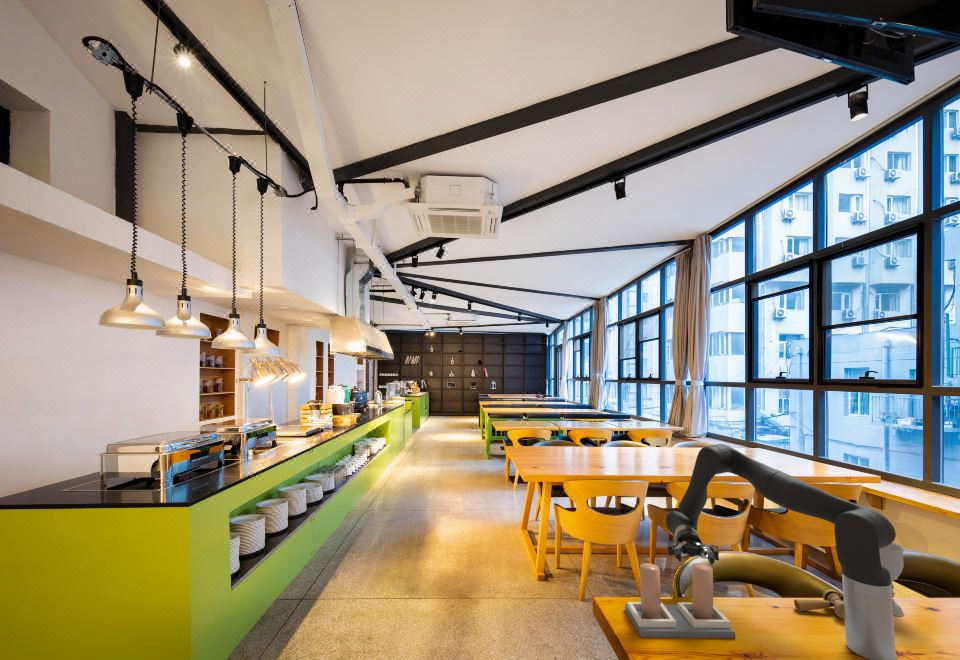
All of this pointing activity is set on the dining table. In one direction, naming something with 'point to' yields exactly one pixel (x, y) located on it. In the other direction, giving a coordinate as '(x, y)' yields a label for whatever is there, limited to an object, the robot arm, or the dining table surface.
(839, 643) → the dining table surface
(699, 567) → the post
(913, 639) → the dining table surface
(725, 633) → the grey peg holder
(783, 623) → the dining table surface
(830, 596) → the kendama
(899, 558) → the chalice
